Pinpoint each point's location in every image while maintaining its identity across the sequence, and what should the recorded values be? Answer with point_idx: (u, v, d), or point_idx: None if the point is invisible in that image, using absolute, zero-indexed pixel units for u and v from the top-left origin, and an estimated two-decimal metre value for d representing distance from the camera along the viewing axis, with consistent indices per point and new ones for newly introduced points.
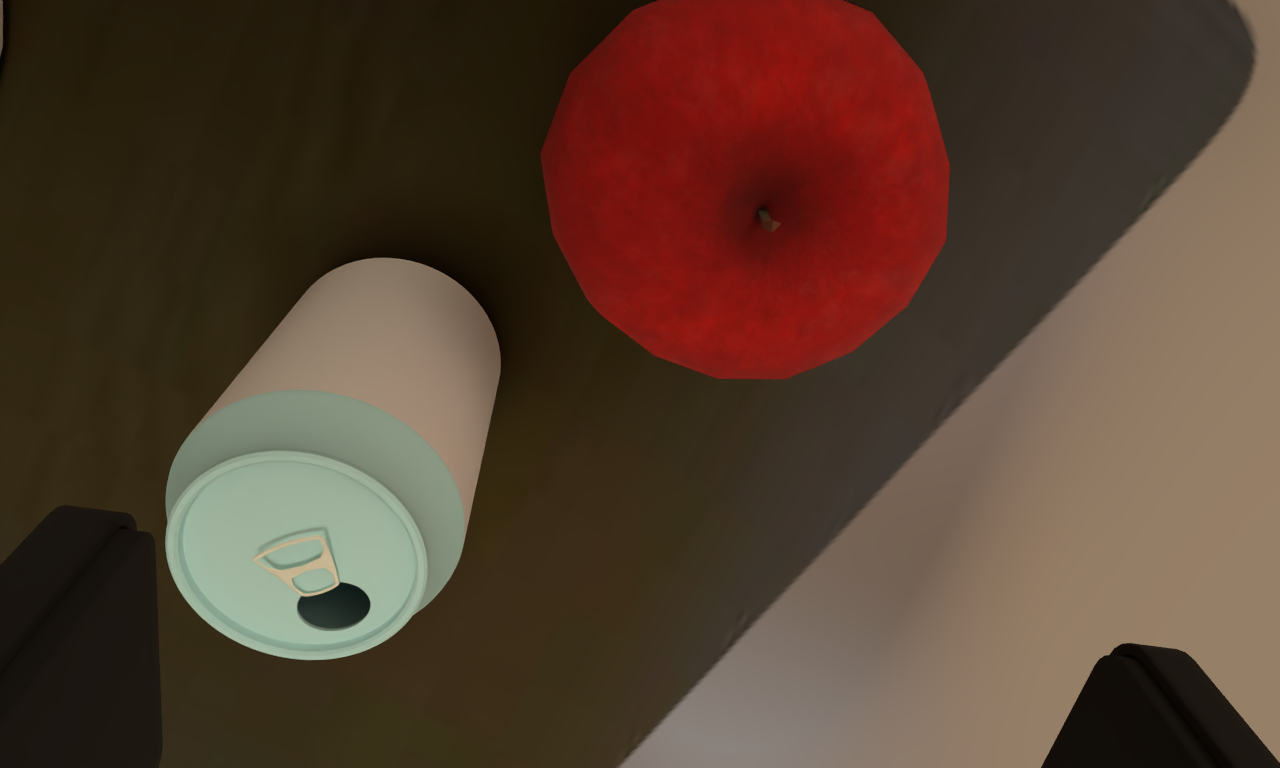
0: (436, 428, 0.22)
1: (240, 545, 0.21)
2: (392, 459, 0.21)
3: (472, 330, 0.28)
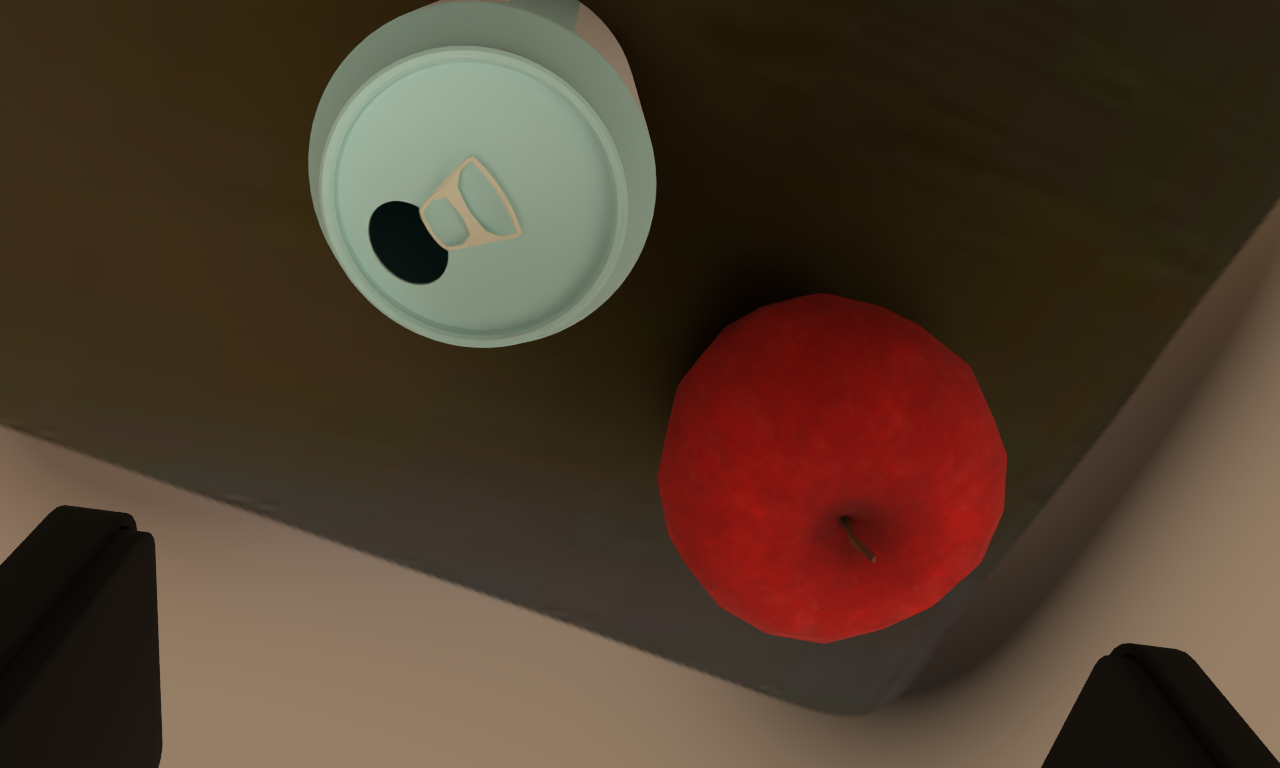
0: None
1: (477, 133, 0.17)
2: (606, 282, 0.19)
3: None
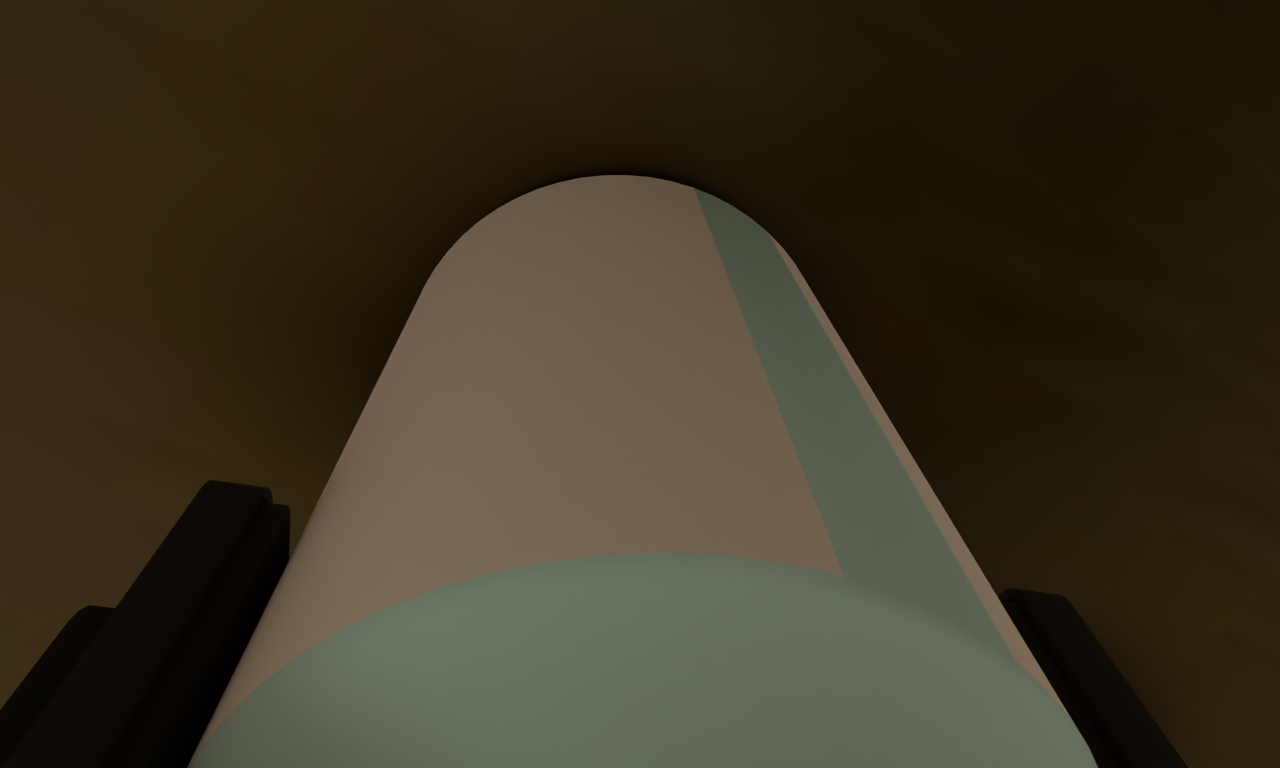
0: None
1: None
2: None
3: None
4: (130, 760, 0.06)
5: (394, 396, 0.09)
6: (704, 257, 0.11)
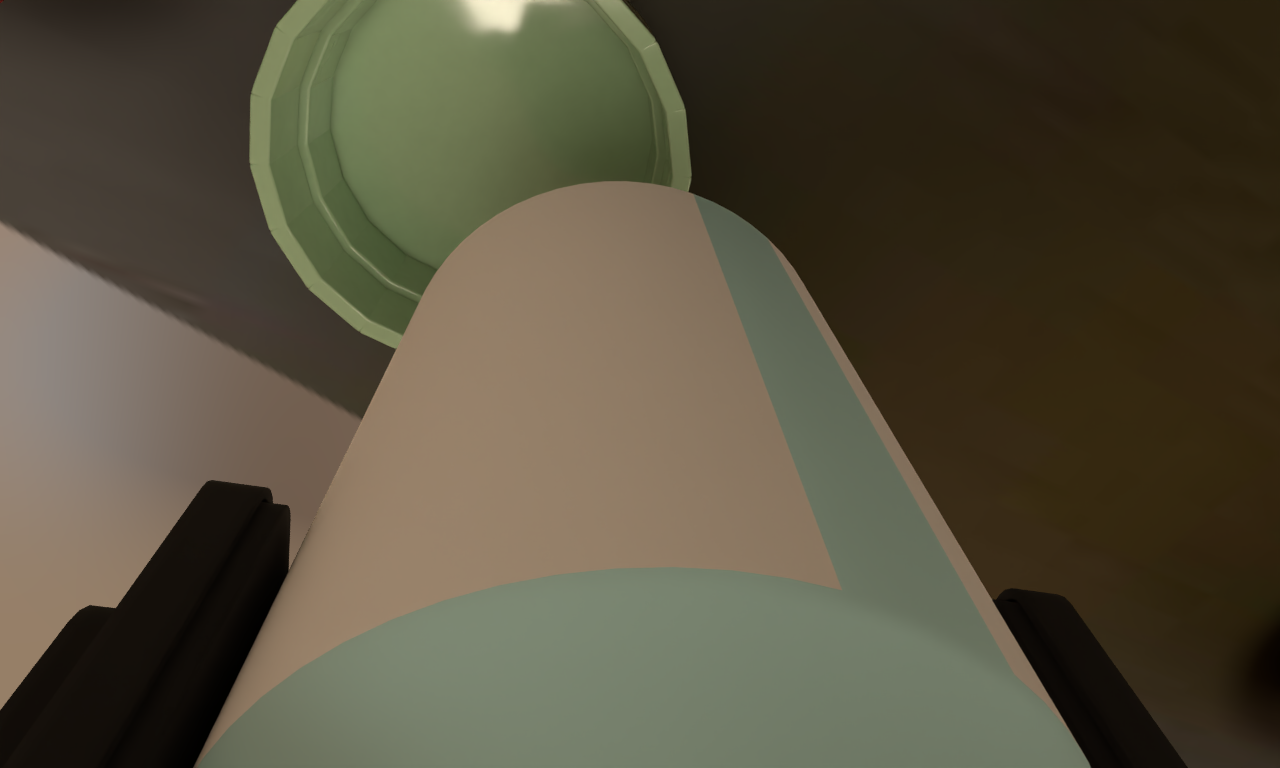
0: None
1: None
2: None
3: None
4: (130, 760, 0.06)
5: (393, 404, 0.09)
6: (704, 266, 0.11)
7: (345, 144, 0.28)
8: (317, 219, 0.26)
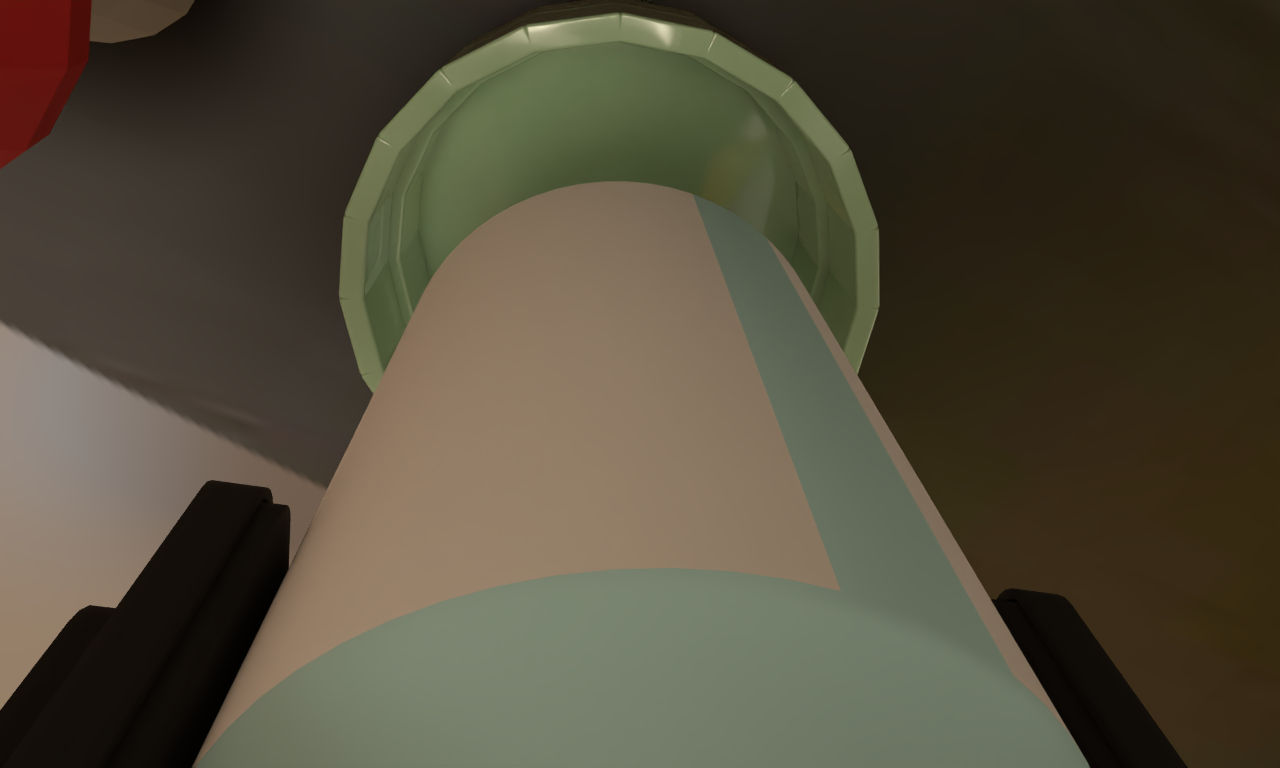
0: None
1: None
2: None
3: None
4: (131, 760, 0.06)
5: (392, 405, 0.09)
6: (703, 266, 0.11)
7: (435, 247, 0.23)
8: None
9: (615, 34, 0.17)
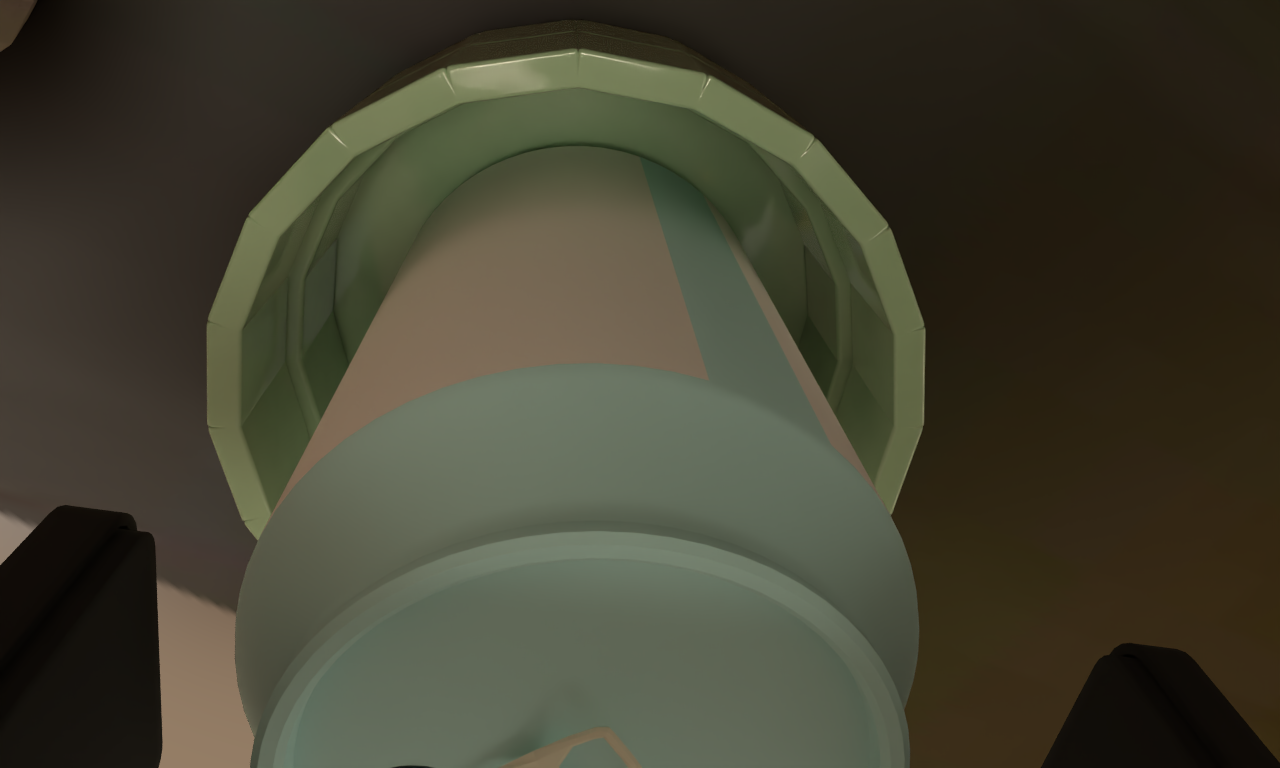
0: None
1: (623, 672, 0.08)
2: None
3: None
4: None
5: (396, 304, 0.12)
6: (640, 204, 0.14)
7: (355, 331, 0.19)
8: None
9: (571, 78, 0.12)
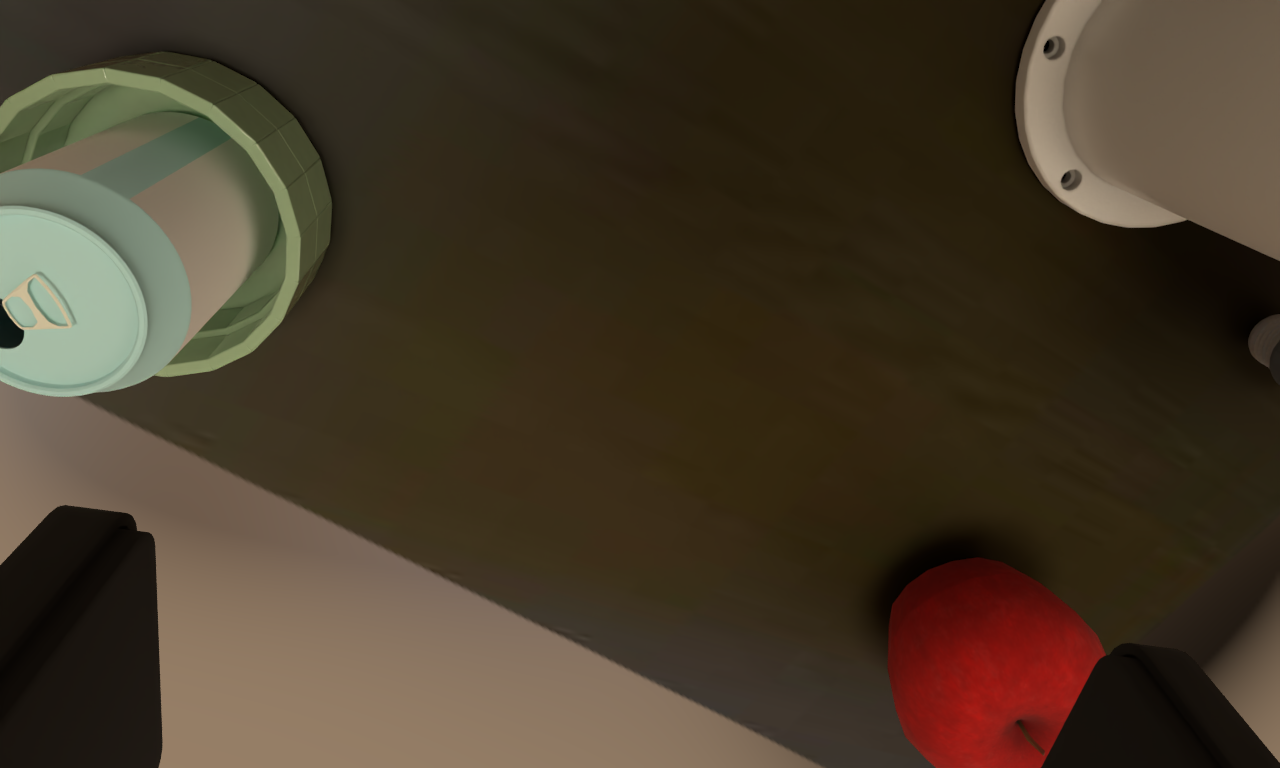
0: None
1: (43, 259, 0.26)
2: (147, 361, 0.28)
3: None
4: None
5: None
6: (154, 133, 0.32)
7: None
8: None
9: (103, 79, 0.30)
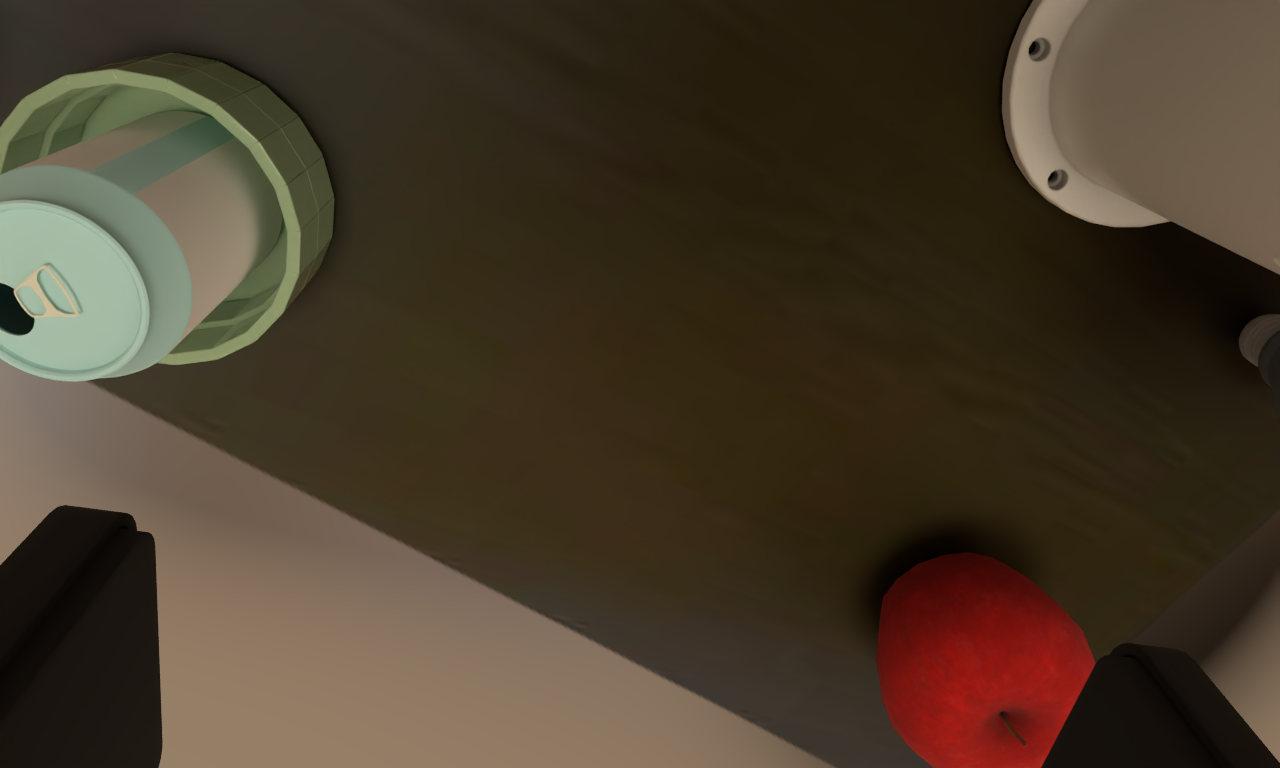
0: None
1: (51, 251, 0.27)
2: (150, 349, 0.29)
3: None
4: None
5: None
6: (162, 131, 0.33)
7: None
8: None
9: (113, 80, 0.32)
